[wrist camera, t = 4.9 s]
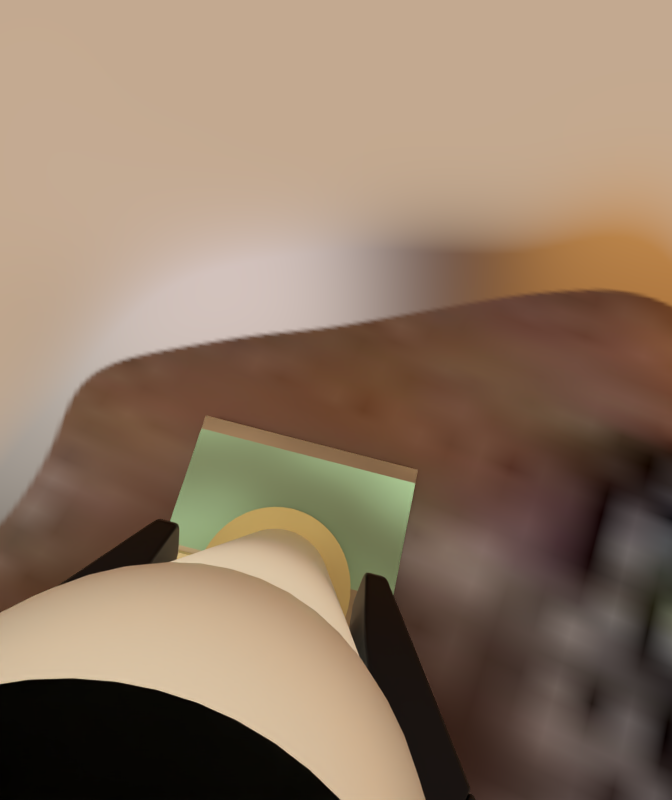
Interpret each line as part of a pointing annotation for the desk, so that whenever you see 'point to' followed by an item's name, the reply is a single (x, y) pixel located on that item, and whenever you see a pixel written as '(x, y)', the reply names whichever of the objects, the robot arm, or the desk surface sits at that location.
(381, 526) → the board
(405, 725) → the robot arm
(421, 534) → the desk surface
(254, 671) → the peg
